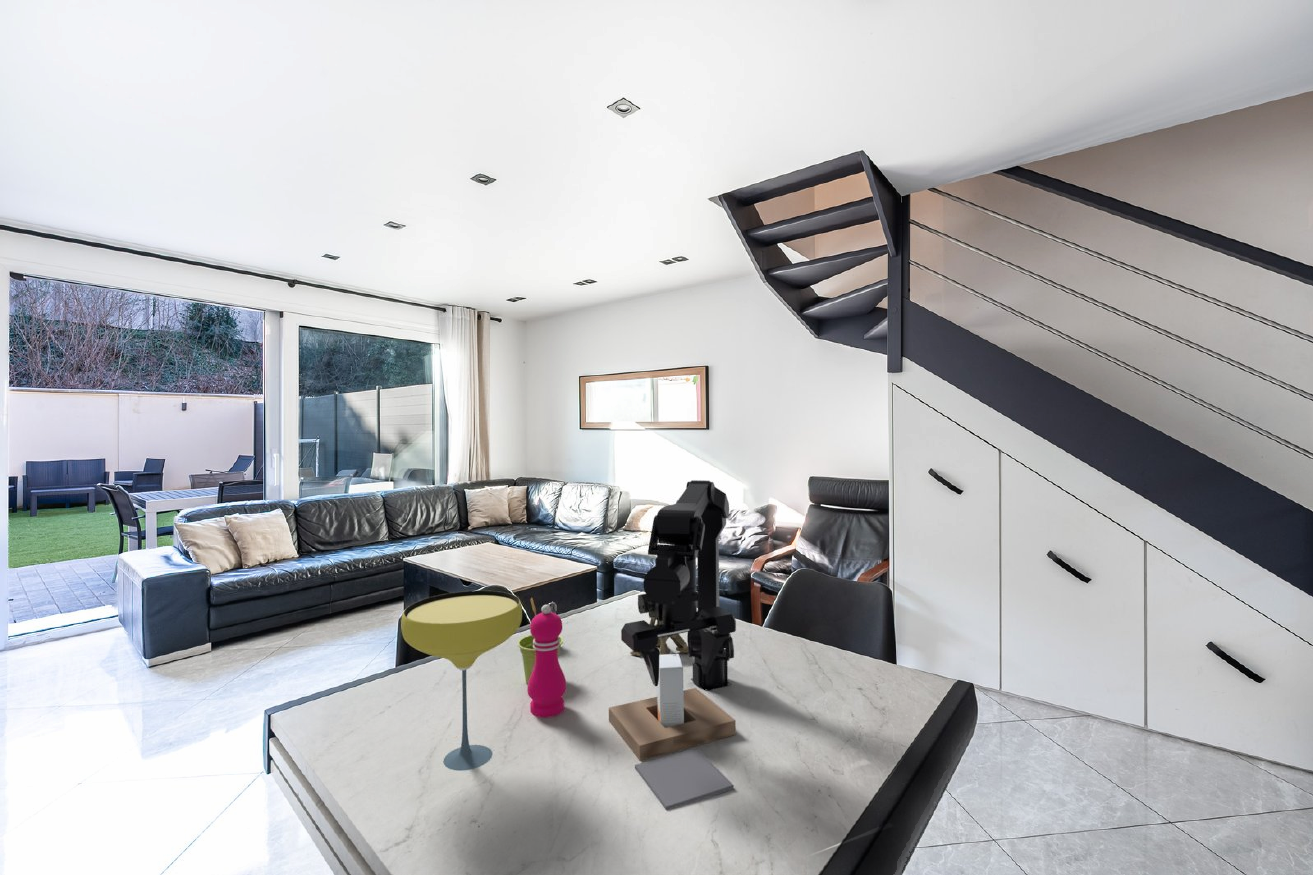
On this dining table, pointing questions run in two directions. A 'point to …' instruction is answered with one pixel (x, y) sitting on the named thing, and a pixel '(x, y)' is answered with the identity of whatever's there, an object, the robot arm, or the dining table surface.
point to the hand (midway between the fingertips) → (680, 679)
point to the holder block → (656, 740)
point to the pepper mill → (546, 666)
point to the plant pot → (530, 654)
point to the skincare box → (670, 691)
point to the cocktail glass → (462, 643)
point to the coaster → (683, 778)
